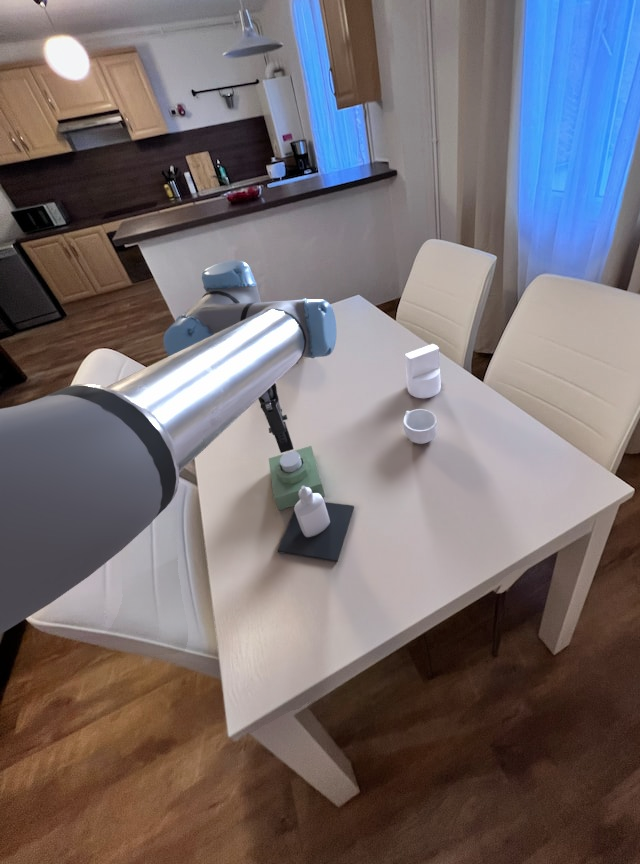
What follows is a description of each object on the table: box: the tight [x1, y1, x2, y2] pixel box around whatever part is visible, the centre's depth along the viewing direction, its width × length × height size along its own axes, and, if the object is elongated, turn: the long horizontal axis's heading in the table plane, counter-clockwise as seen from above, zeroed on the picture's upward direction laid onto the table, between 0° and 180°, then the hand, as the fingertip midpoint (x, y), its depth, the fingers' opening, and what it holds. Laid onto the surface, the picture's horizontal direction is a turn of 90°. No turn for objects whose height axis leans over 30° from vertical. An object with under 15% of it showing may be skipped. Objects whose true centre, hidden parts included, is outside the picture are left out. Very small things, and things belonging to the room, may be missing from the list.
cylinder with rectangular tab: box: [404, 343, 442, 399], centre depth 107 cm, size 9×9×12 cm
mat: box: [276, 501, 355, 563], centre depth 79 cm, size 12×12×1 cm
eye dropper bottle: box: [293, 486, 330, 537], centre depth 75 cm, size 4×6×12 cm
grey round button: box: [280, 450, 302, 473], centre depth 86 cm, size 4×4×2 cm
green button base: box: [268, 445, 326, 511], centre depth 88 cm, size 12×10×6 cm
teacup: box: [402, 408, 438, 445], centre depth 95 cm, size 10×8×5 cm
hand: (286, 448), depth 83 cm, fingers closed
